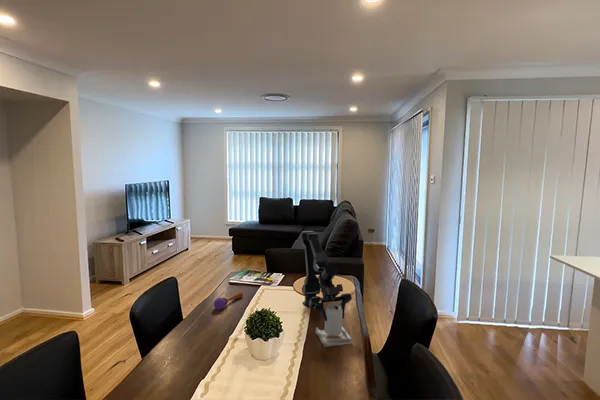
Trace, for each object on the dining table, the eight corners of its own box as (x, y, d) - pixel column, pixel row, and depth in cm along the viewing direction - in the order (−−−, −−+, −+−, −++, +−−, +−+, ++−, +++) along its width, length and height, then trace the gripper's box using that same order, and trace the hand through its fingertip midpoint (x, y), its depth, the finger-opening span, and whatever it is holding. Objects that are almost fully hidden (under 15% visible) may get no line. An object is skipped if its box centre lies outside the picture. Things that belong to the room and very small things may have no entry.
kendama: (245, 291, 178) (221, 302, 160) (243, 301, 179) (219, 313, 161) (237, 287, 181) (212, 297, 163) (235, 297, 181) (210, 308, 164)
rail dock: (315, 332, 144) (315, 327, 144) (340, 328, 147) (340, 324, 147) (324, 347, 133) (324, 342, 133) (351, 343, 136) (351, 338, 136)
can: (343, 336, 137) (344, 310, 135) (326, 337, 136) (327, 311, 134) (338, 327, 144) (339, 302, 143) (322, 328, 143) (323, 303, 142)
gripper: (311, 279, 138) (318, 316, 129) (351, 276, 143) (361, 311, 134) (305, 289, 147) (312, 324, 138) (343, 285, 152) (352, 319, 143)
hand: (334, 319), depth 138 cm, fingers closed on can, 7 cm apart
